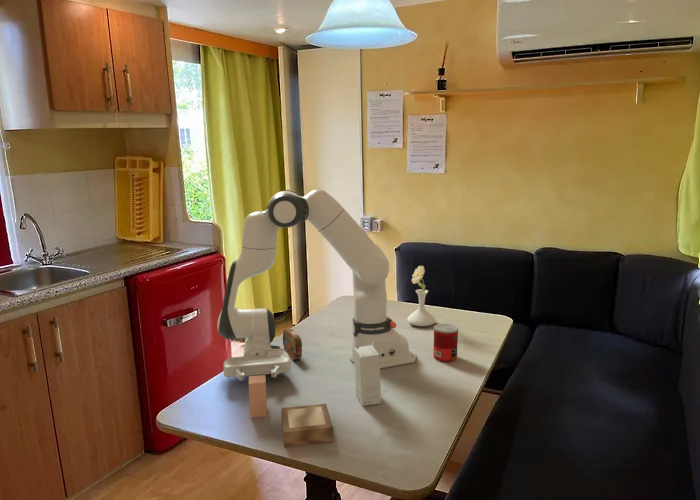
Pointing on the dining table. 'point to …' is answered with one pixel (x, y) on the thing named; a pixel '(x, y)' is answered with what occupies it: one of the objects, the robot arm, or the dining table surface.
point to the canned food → (445, 342)
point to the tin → (292, 344)
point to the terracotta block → (257, 396)
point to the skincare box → (367, 375)
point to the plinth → (306, 425)
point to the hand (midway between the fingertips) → (257, 376)
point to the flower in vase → (420, 302)
